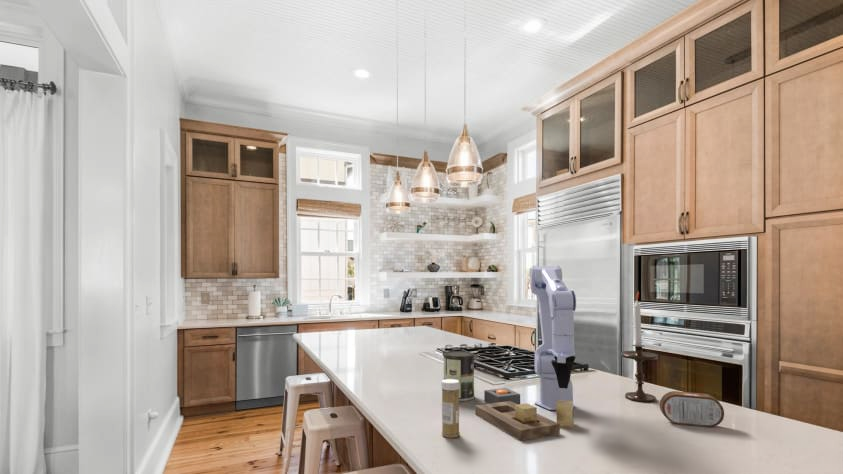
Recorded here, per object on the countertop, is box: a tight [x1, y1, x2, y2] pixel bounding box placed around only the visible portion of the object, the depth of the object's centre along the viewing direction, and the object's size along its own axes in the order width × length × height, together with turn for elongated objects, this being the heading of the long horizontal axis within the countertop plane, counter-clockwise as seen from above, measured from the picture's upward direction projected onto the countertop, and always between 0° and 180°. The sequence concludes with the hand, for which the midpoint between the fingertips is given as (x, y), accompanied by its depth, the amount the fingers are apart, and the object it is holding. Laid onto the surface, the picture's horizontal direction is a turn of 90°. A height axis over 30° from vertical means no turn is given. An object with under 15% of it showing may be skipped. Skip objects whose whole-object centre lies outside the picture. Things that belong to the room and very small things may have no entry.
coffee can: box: [442, 350, 475, 402], centre depth 147 cm, size 10×10×14 cm
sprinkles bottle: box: [441, 379, 461, 439], centre depth 112 cm, size 5×5×13 cm
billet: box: [515, 402, 538, 424], centre depth 116 cm, size 4×4×6 cm
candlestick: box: [620, 290, 658, 404], centre depth 146 cm, size 11×11×35 cm
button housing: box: [483, 387, 521, 405], centre depth 139 cm, size 8×8×4 cm
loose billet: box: [555, 400, 574, 429], centre depth 120 cm, size 4×4×6 cm
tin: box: [659, 390, 725, 428], centre depth 120 cm, size 15×3×8 cm, turn 72°
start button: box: [496, 388, 508, 395], centre depth 139 cm, size 4×4×2 cm
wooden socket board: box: [474, 401, 561, 442], centre depth 120 cm, size 12×22×2 cm, turn 23°
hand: (564, 385), depth 120 cm, fingers open, 6 cm apart
